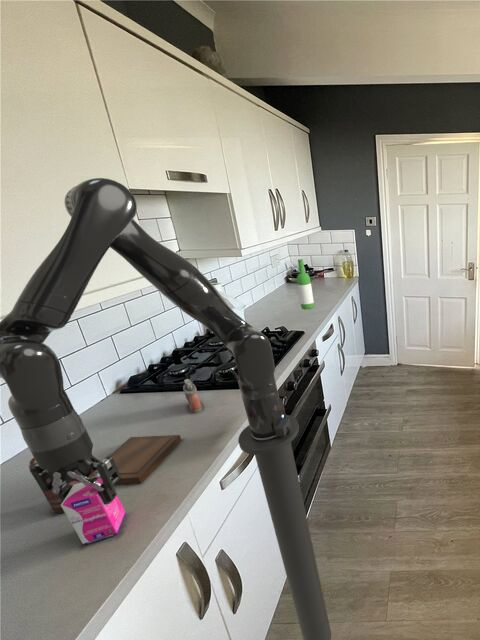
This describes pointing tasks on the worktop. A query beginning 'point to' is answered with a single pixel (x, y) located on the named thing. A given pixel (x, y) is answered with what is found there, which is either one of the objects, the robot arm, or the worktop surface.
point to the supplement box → (92, 513)
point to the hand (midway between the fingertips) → (91, 501)
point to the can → (50, 496)
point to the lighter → (192, 396)
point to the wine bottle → (304, 287)
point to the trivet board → (141, 457)
